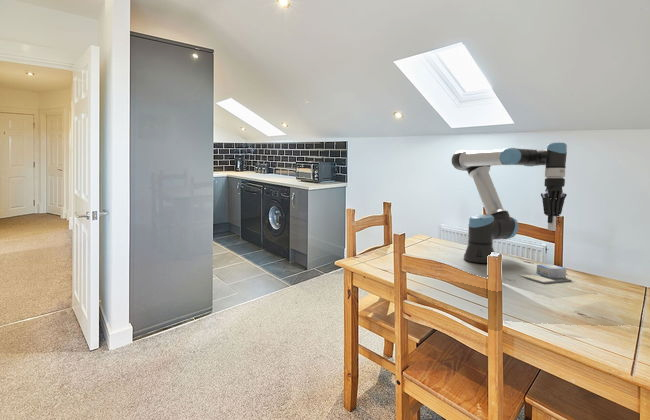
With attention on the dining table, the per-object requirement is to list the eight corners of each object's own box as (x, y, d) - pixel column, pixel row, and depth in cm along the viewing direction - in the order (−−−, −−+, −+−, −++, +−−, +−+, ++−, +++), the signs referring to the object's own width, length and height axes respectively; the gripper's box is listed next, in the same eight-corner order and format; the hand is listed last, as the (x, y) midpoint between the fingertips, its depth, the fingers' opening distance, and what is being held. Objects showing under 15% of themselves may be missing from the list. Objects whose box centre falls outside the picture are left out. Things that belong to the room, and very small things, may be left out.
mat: (516, 275, 158) (516, 274, 158) (542, 273, 163) (542, 272, 163) (544, 284, 144) (544, 282, 144) (571, 281, 149) (571, 279, 149)
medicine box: (567, 268, 153) (550, 268, 152) (566, 277, 153) (549, 278, 152) (552, 264, 161) (536, 264, 159) (552, 273, 161) (535, 273, 160)
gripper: (551, 177, 146) (548, 231, 148) (573, 178, 150) (570, 231, 152) (536, 177, 153) (533, 229, 155) (557, 178, 157) (554, 229, 159)
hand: (551, 230), depth 153 cm, fingers closed
